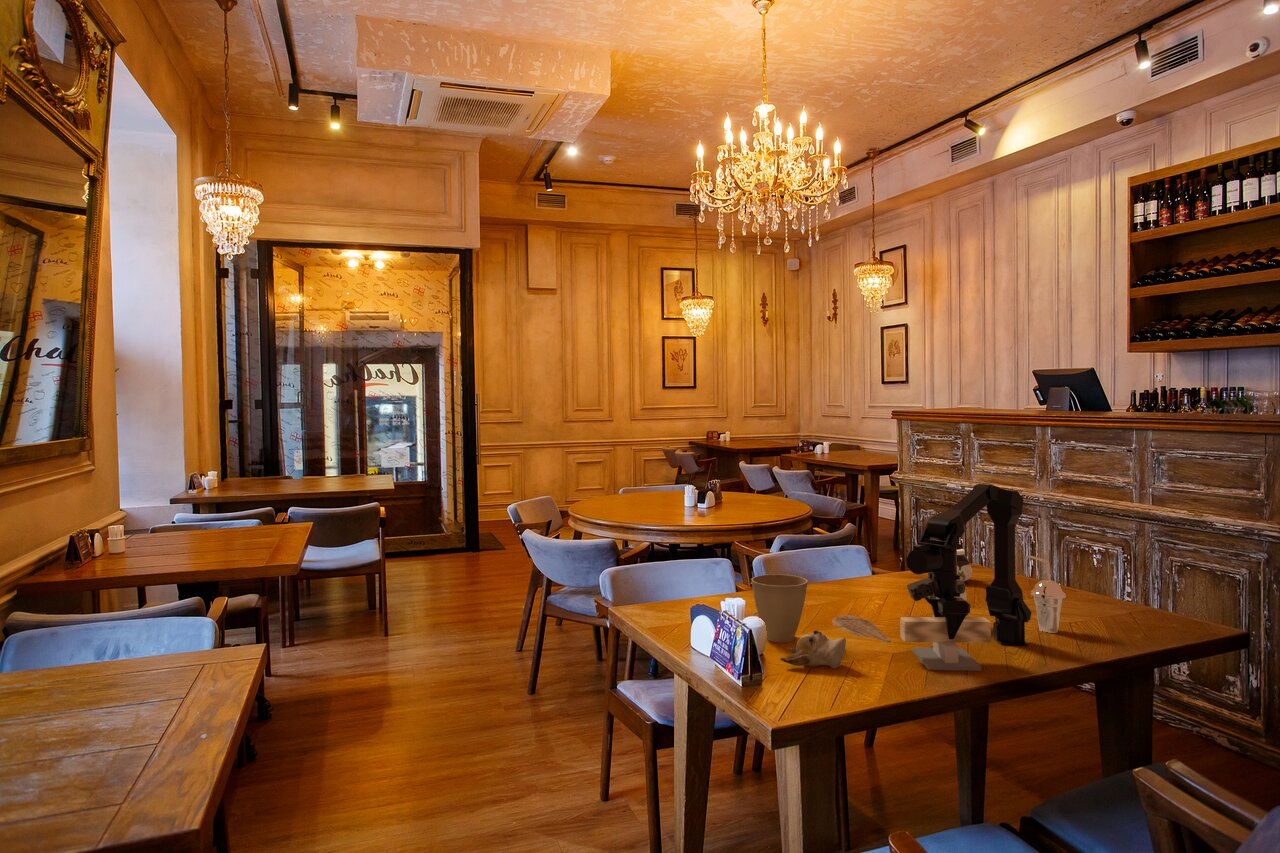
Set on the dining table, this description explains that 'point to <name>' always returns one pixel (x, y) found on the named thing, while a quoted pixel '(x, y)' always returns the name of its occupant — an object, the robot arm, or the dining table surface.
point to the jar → (961, 590)
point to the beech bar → (944, 630)
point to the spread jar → (963, 566)
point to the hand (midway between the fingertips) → (945, 633)
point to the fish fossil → (859, 627)
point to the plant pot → (779, 604)
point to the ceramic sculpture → (817, 651)
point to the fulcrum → (946, 657)
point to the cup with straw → (1047, 602)
